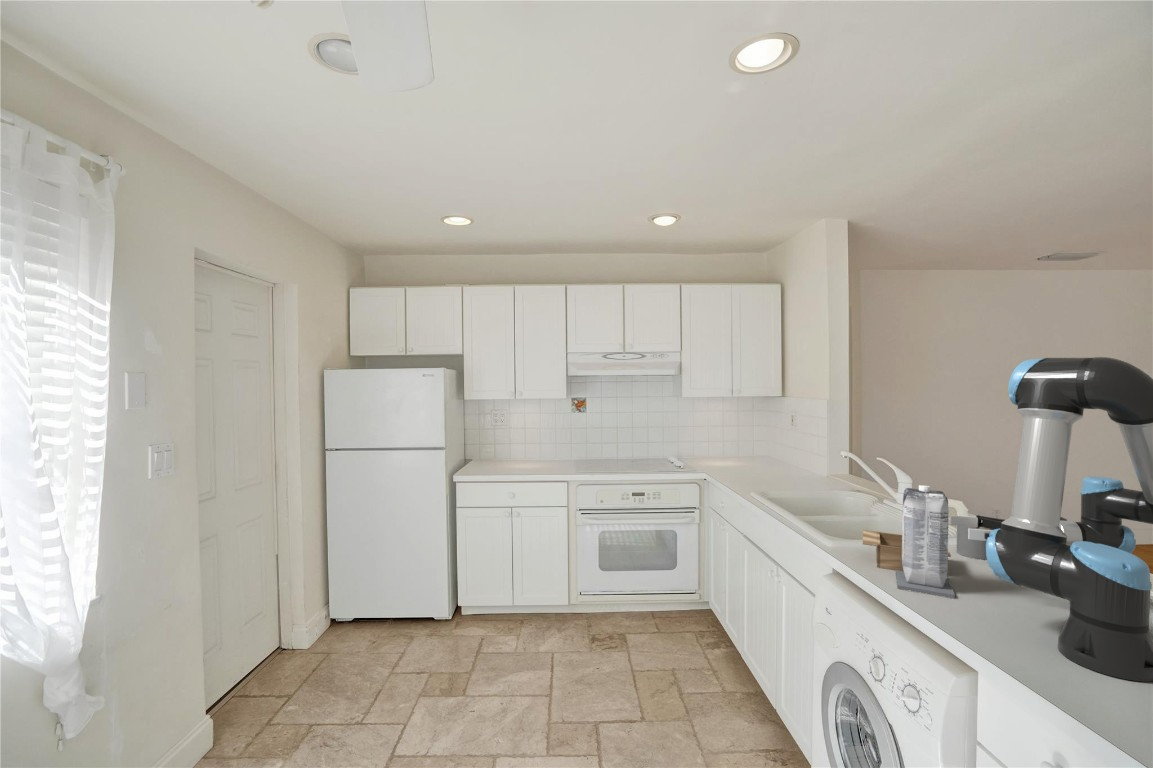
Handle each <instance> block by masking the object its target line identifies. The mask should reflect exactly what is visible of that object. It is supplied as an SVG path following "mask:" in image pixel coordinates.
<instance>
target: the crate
mask: <svg viewBox="0 0 1153 768" xmlns="http://www.w3.org/2000/svg"><path fill="white" fill-rule="evenodd" d="M862 531H863V532H862V545H864V546H870V547H871V546H873V547H876V555H875V556H876V568H878V567H879V569H884V570H893V571H896V570H899V571H904V570H903V565H902V534H897V533H896V534H895V533H889V532H884V531H883V532H882V531H874V530H868V529H867V530H866V529H863V530H862ZM948 557H949V558H952V555H951V553H950V550H949V549H948Z"/></svg>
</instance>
